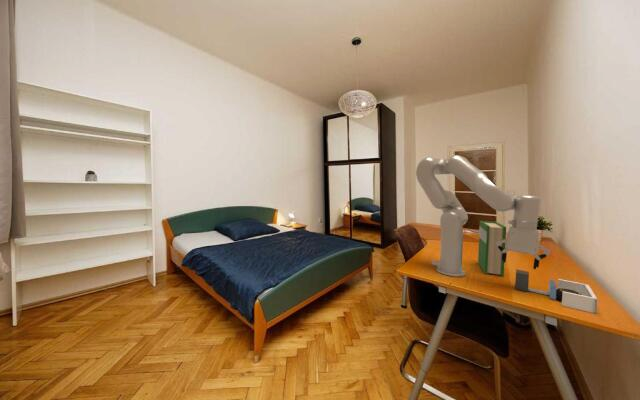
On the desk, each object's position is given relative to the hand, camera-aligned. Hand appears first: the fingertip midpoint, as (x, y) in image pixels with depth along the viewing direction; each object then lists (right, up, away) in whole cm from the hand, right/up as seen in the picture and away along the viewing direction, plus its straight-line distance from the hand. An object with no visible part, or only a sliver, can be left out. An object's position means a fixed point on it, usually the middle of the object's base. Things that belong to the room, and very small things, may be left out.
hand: (519, 265), depth 97 cm
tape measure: (+10, -11, -11) cm, 18 cm away
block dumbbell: (+4, -10, -3) cm, 11 cm away
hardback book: (+4, -9, +22) cm, 24 cm away
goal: (+12, -11, -10) cm, 19 cm away
